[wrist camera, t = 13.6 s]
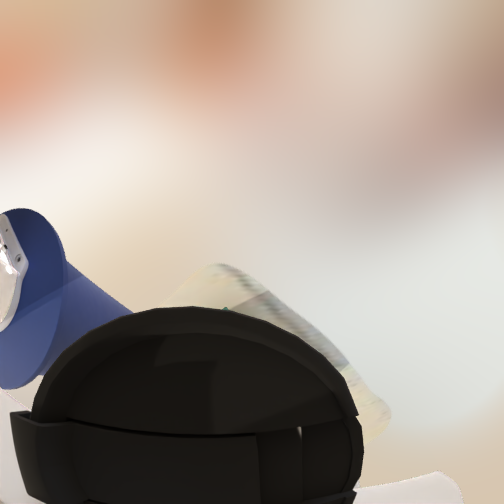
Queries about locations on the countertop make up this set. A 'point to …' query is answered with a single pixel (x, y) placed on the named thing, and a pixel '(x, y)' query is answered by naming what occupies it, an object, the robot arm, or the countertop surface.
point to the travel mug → (190, 416)
